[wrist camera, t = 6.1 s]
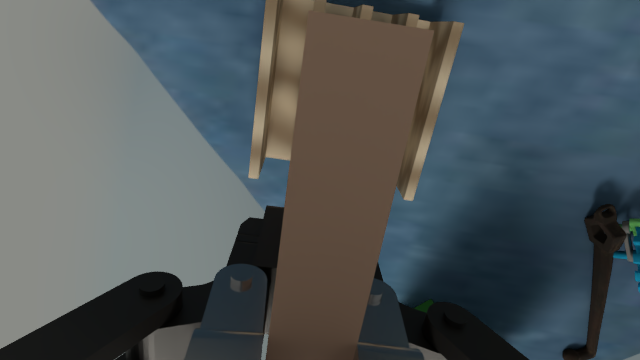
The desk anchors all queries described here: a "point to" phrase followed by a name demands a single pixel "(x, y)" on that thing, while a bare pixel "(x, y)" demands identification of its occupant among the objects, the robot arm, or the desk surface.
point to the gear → (632, 255)
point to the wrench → (599, 273)
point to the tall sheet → (342, 179)
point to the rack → (285, 71)
